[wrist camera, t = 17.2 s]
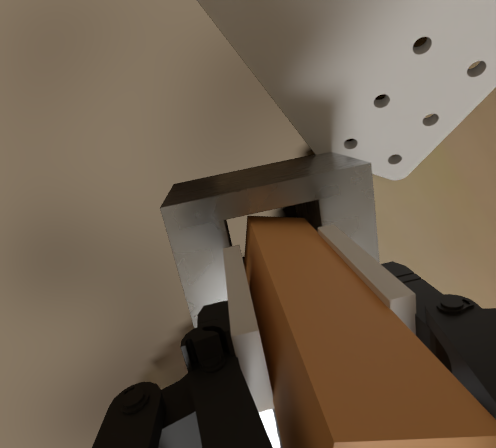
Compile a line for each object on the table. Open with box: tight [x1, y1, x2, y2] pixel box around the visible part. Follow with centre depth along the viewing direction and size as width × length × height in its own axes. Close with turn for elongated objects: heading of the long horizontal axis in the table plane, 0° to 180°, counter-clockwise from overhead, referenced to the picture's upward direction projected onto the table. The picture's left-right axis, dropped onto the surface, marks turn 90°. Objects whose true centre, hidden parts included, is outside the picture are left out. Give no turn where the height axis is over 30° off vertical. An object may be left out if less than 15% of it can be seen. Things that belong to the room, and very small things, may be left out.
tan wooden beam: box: [244, 216, 496, 448], centre depth 12 cm, size 3×3×13 cm
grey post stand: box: [160, 152, 379, 448], centre depth 14 cm, size 10×16×21 cm, turn 11°
